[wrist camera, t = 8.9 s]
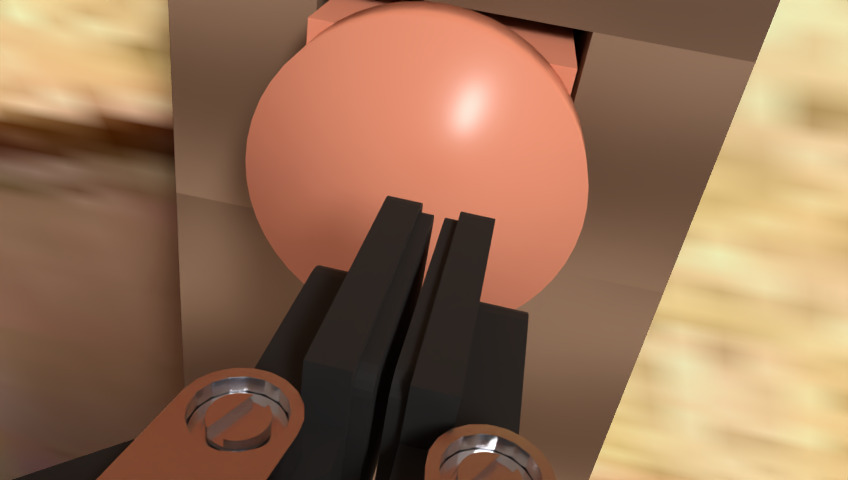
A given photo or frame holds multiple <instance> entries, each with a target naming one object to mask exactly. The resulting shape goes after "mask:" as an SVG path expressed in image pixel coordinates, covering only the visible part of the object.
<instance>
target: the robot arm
mask: <svg viewBox="0 0 848 480" xmlns="http://www.w3.org/2000/svg"><path fill="white" fill-rule="evenodd" d="M422 208H423V203H420V202H416V201H411V200H406V199H402V198H397V197H393V196H387V197H386V199H385V201H384V202H383V204H382V206H381V208H380V210H379V212H378V214H377V216H376V218H375V220H374V222H373V224H372V226H371V228H370V230H369V232H368V234H367V236H366V238H365V240H364V242H363V244H362V246H361V248H360V250H359V252H358V254H357V256H356V258H355V259H354V261H353V263H352V265H351V267H350V269H349V271H343V270H339V269H334V268H330V267H325V266H321V265H318V266H316V267H315V268H314V269H313V271H312V272H311V274H310V275H309V277H308V279H307V281H306V282H305V284H304V286H303V287H302V289H301V291H300V292H299V294H298V296H297V297H296V299H295V301H294V302H293V304H292V306H291V308H290V309H289V311H288V313H287V314H286V316H285V318H284V319H283V321H282V323H281V324H280V326H279V328H278V329H277V331H276V333H275V334H274V336H273V338H272V340H271V341H270V343H269V345H268V346H267V348H266V350H265V351H264V353H263V355H262V356H261V358H260V360H259V361H258V363H257V365H256V366H255V368H230V369H225V370H220V371H215V372H212V373H210V374H208V375H205V376H203V377H201V378H198V379H196V380H195V381H194V382H192V383H191V384H190V385H188V386H187V387H186V388H185V389H183V390H182V391H181V392H180V393H179V394H178V395H177V396H176V397H175V398H174V399H173V400H172V401H171V402H170V404H169V405H168V406H167V407H166V408H165V409H164V410H163V411H162V412H161V413H160V414H159V415H158V416H157V417H156V418H155V419H154V420H153V421H152V422H151V423H150V424H149V425H148V426H147V427H146V428H145V429H144V430H143V432H142V433H141V434H140V435H139V436H138V437H137V438H136V439H133V440H130V441H127V442H124V443H121V444H118V445H115V446H112V447H109V448H106V449H103V450H100V451H97V452H94V453H91V454H88V455H85V456H82V457H79V458H76V459H73V460H70V461H67V462H64V463H61V464H58V465H55V466H52V467H49V468H46V469H43V470H40V471H37V472H34V473H31V474H28V475H25V476H22V477H19V478H16V479H13V480H373V477H374V474H375V470H376V467H377V470H376V476H375V480H557V479H556V477H555V474H554V471H553V468H552V465H551V464H550V463H549V461H548V460H547V459H546V457H545V456H544V454H543V453H542V452H541V450H539V449H538V448H537V447H536V446H534V445H533V444H532V443H531V442H530V441H528V440H527V439H526V438H524V437H522V436H520V435H519V428H520V416H521V404H522V392H523V380H524V368H525V356H526V344H527V332H528V318H529V314H528V312H524V311H520V310H515V309H511V308H506V307H502V306H497V305H493V304H489V303H484V302H480V298H481V293H482V287H483V282H484V277H485V272H486V267H487V261H488V256H489V251H490V246H491V240H492V235H493V230H494V225H495V219H494V218H489V217H485V216H480V215H475V214H471V213H466V212H462V211H461V212H460V215H459V219H458V220H454V219H450V218H445V219H444V222H443V225H442V228H441V231H440V234H439V237H438V240H437V243H436V246H435V249H434V252H433V255H432V258H431V261H430V264H429V267H428V270H427V274H426V277H425V280H424V283H423V278H424V272H425V267H426V261H427V256H428V250H429V244H430V239H431V233H432V228H433V222H434V215H432V214H427V213H422ZM422 284H423V286H422Z"/></svg>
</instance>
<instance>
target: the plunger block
mask: <svg viewBox="0 0 848 480" xmlns="http://www.w3.org/2000/svg"><path fill="white" fill-rule="evenodd" d="M328 1H329V0H168V4H169V28H170V53H171V77H172V102H173V126H174V151H175V175H176V200H177V224H178V248H179V273H180V297H181V322H182V346H183V371H184V389H185V388H186V387H187V386H188V385H190V384H191V383H192V382H194V381H195V380H196V379H198V378H201V377H203V376H205V375H208V374H210V373H212V372H215V371H220V370H225V369H230V368H255V366H256V365H257V363H258V361H259V360H260V358H261V356H262V355H263V353H264V351H265V350H266V348H267V346H268V345H269V343H270V341H271V340H272V338H273V336H274V334H275V333H276V331H277V329H278V328H279V326H280V324H281V323H282V321H283V319H284V318H285V316H286V314H287V313H288V311H289V309H290V308H291V306H292V304H293V302H294V301H295V299H296V297H297V296H298V294H299V292H300V291H301V289H302V287H303V286H304V283H302V282H301V281H300V280H299V279H298V278H297V277H296V276H295V275H294V274H293V273H292V272H291V271H290V270H289V269H288V268H287V266H286V265H285V264H284V263H283V261H282V260H281V259H280V258H279V256H278V255H277V254H276V253H275V251H274V249H273V248H272V246H271V245H270V243H269V241H268V240H267V238H266V237H265V235H264V233H263V231H262V228H261V226H260V224H259V222H258V220H257V218H256V215H255V212H254V209H253V206H252V203H251V200H250V195H249V190H248V185H247V180H246V161H245V158H246V146H247V138H248V133H249V129H250V125H251V121H252V118H253V115H254V113H255V110H256V108H257V105H258V103H259V100H260V98H261V97H262V95H263V93H264V92H265V90H266V88H267V87H268V85H269V83H270V82H271V80H272V79H273V78H274V77H275V76H276V74H277V73H278V72H279V71H280V69H281V68H282V67H283V66H284V65H285V64H286V63H287V62H288V61H289V60H290V59H291V58H292V57H293V56H295V55H296V54H297V53H298V52H299V51H300V50H301V49H302V48H303V47H304V46H306V42H307V25H308V17H309V16H310V15H312V14H313V13H314V12H315V11H317V10H318V9H319V8H320V7H322V6H323V5H324V4H325V3H327V2H328ZM425 1H430V2H437V3H445V4H450V5H454V6H458V7H462V8H467V9H473V10H478V11H483V12H489V13H494V14H499V15H505V16H510V17H515V18H521V19H526V20H531V21H537V22H542V23H547V24H553V25H558V26H563V27H569V28H572V30H573V38H574V45H575V53H576V61H577V73H576V76H575V80H574V84H573V88H572V91H571V95H570V96H571V98H572V100H573V103H574V105H575V108H576V111H577V113H578V116H579V119H580V123H581V128H582V132H583V137H584V143H585V152H586V160H587V171H588V184H589V188H588V202H587V210H586V214H585V219H584V223H583V227H582V230H581V232H580V235H579V238H578V240H577V243H576V245H575V247H574V249H573V251H572V253H571V254H570V256H569V258H568V260H567V261H566V263H565V265H564V266H563V267H562V268H561V270H560V271H559V272H558V274H557V275H556V276H555V277H554V279H553V280H552V281H551V282H550V283H549V284H548V285H547V286H546V287H545V288H544V289H543V290H542V291H541V292H540V293H538V294H537V295H536V296H534V297H533V298H532V299H530V300H529V301H528V302H526V303H525V304H524V305H522V306H520V307H518V308H517V309H515V310H520V311H524V312H528V314H529V318H528V332H527V344H526V356H525V368H524V380H523V392H522V404H521V416H520V428H519V435H520V436H522V437H524V438H526V439H527V440H528V441H530V442H531V443H532V444H533V445H534V446H536V447H537V448H538V449H539V450H541V452H542V453H543V454H544V456H545V457H546V459H547V460H548V461H549V463H550V464H551V465H552V468H553V471H554V474H555V477H556V479H557V480H589V478H590V475H591V473H592V470H593V468H594V465H595V463H596V460H597V458H598V455H599V453H600V450H601V448H602V445H603V443H604V440H605V438H606V435H607V433H608V430H609V428H610V425H611V423H612V420H613V418H614V415H615V413H616V410H617V408H618V405H619V403H620V400H621V397H622V395H623V392H624V390H625V387H626V385H627V382H628V380H629V377H630V375H631V372H632V370H633V367H634V365H635V362H636V360H637V357H638V355H639V352H640V350H641V347H642V345H643V342H644V340H645V337H646V335H647V332H648V330H649V327H650V325H651V322H652V320H653V317H654V315H655V312H656V310H657V307H658V305H659V302H660V300H661V297H662V295H663V292H664V290H665V287H666V285H667V282H668V280H669V277H670V275H671V272H672V270H673V267H674V265H675V262H676V260H677V257H678V255H679V252H680V250H681V247H682V245H683V242H684V240H685V237H686V235H687V232H688V230H689V227H690V225H691V222H692V220H693V217H694V215H695V212H696V210H697V207H698V205H699V202H700V200H701V197H702V195H703V192H704V190H705V187H706V185H707V182H708V180H709V177H710V175H711V172H712V170H713V167H714V165H715V162H716V160H717V157H718V155H719V152H720V150H721V147H722V145H723V142H724V140H725V137H726V135H727V132H728V130H729V127H730V125H731V122H732V120H733V117H734V115H735V112H736V110H737V107H738V105H739V102H740V100H741V97H742V95H743V92H744V90H745V87H746V85H747V82H748V80H749V77H750V75H751V72H752V70H753V67H754V65H755V62H756V60H757V57H758V54H759V52H760V49H761V47H762V44H763V42H764V39H765V37H766V34H767V32H768V29H769V27H770V24H771V22H772V19H773V17H774V14H775V12H776V9H777V7H778V4H779V2H780V0H425ZM376 470H377V467H376ZM376 470H375V474H374V477H373V480H375V476H376Z"/></svg>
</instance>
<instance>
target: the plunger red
mask: <svg viewBox="0 0 848 480" xmlns="http://www.w3.org/2000/svg"><path fill="white" fill-rule="evenodd" d="M576 73H577V61H576V53H575V45H574V38H573V30H572V28H569V27H563V26H558V25H553V24H547V23H542V22H537V21H531V20H526V19H521V18H515V17H510V16H505V15H499V14H494V13H489V12H483V11H478V10H473V9H467V8H462V7H458V6H454V5H450V4H445V3H437V2H430V1H425V0H329V1H328V2H327V3H325V4H324V5H323V6H322V7H320V8H319V9H318V10H317V11H315V12H314V13H313V14H312V15H310V16H309V17H308V25H307V42H306V46H304V47H303V48H302V49H301V50H300V51H299V52H298V53H297V54H296V55H295V56H293V57H292V58H291V59H290V60H289V61H288V62H287V63H286V64H285V65H284V66H283V67H282V68H281V69H280V71H279V72H278V73H277V74H276V76H275V77H274V78H273V79H272V80H271V82H270V83H269V85H268V87H267V88H266V90H265V92H264V93H263V95H262V97H261V98H260V100H259V103H258V105H257V108H256V110H255V113H254V115H253V118H252V121H251V125H250V129H249V133H248V138H247V146H246V158H245V161H246V180H247V185H248V190H249V195H250V200H251V203H252V206H253V209H254V212H255V215H256V218H257V220H258V222H259V224H260V226H261V228H262V231H263V233H264V235H265V237H266V238H267V240H268V241H269V243H270V245H271V246H272V248H273V249H274V251H275V253H276V254H277V255H278V256H279V258H280V259H281V260H282V261H283V263H284V264H285V265H286V266H287V268H288V269H289V270H290V271H291V272H292V273H293V274H294V275H295V276H296V277H297V278H298V279H299V280H300V281H301V282H302V283H304V284H305V282H306V281H307V279H308V277H309V275H310V274H311V272H312V271H313V269H314V268H315V267H316V266H318V265H321V266H325V267H330V268H334V269H339V270H343V271H349V269H350V267H351V265H352V263H353V261H354V259H355V258H356V256H357V254H358V252H359V250H360V248H361V246H362V244H363V242H364V240H365V238H366V236H367V234H368V232H369V230H370V228H371V226H372V224H373V222H374V220H375V218H376V216H377V214H378V212H379V210H380V208H381V206H382V204H383V202H384V201H385V199H386V197H387V196H393V197H397V198H402V199H406V200H411V201H416V202H420V203H423V208H422V213H427V214H432V215H434V222H433V228H432V233H431V239H430V244H429V250H428V256H427V261H426V267H425V272H424V278H423V283H424V280H425V277H426V274H427V270H428V267H429V264H430V261H431V258H432V255H433V252H434V249H435V246H436V243H437V240H438V237H439V234H440V231H441V228H442V225H443V222H444V219H445V218H450V219H454V220H458V219H459V215H460V212H461V211H462V212H466V213H471V214H475V215H480V216H485V217H489V218H494V219H495V225H494V230H493V235H492V240H491V246H490V251H489V256H488V261H487V267H486V272H485V277H484V282H483V287H482V293H481V298H480V302H484V303H489V304H493V305H497V306H502V307H506V308H511V309H517V308H518V307H520V306H522V305H524V304H525V303H526V302H528V301H529V300H530V299H532V298H533V297H534V296H536V295H537V294H538V293H540V292H541V291H542V290H543V289H544V288H545V287H546V286H547V285H548V284H549V283H550V282H551V281H552V280H553V279H554V277H555V276H556V275H557V274H558V272H559V271H560V270H561V268H562V267H563V266H564V265H565V263H566V261H567V260H568V258H569V256H570V254H571V253H572V251H573V249H574V247H575V245H576V243H577V240H578V238H579V235H580V232H581V230H582V227H583V223H584V219H585V214H586V210H587V202H588V188H589V184H588V171H587V160H586V152H585V143H584V137H583V132H582V128H581V123H580V119H579V116H578V113H577V111H576V108H575V105H574V103H573V100H572V98H571V96H570V95H571V91H572V88H573V84H574V80H575V76H576ZM422 286H423V284H422Z"/></svg>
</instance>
